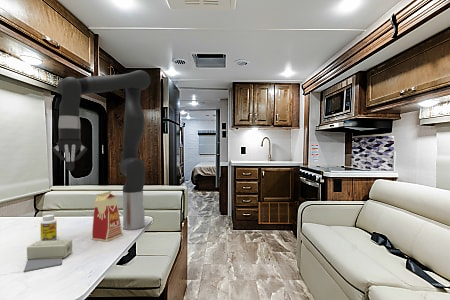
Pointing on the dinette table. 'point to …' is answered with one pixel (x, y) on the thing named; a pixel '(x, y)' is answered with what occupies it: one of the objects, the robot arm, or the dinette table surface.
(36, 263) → the mat
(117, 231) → the milk carton
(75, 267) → the dinette table surface
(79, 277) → the dinette table surface
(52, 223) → the supplement bottle
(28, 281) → the dinette table surface
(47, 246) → the skincare box
